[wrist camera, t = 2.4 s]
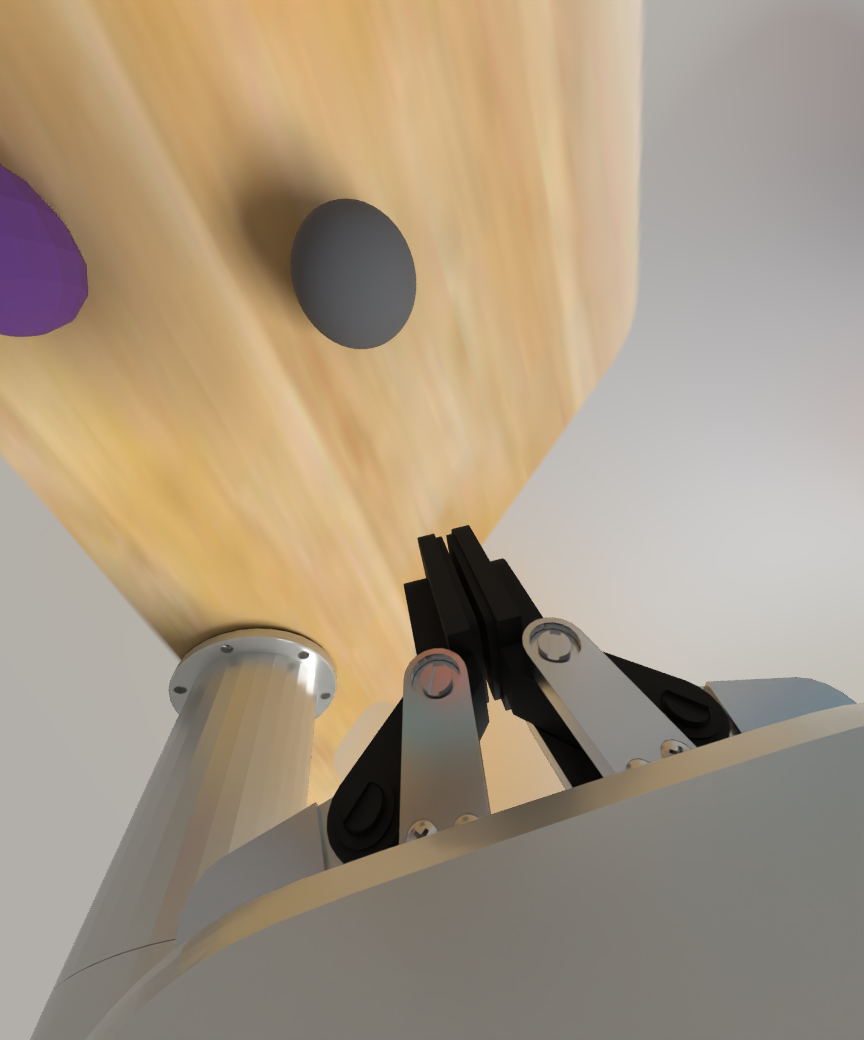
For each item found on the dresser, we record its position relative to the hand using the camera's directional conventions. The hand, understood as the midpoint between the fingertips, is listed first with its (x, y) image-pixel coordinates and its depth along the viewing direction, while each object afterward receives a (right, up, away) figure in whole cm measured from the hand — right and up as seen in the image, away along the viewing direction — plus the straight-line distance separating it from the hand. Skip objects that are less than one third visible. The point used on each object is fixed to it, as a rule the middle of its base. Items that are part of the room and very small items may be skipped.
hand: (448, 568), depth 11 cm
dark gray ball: (-4, +12, +5) cm, 14 cm away
